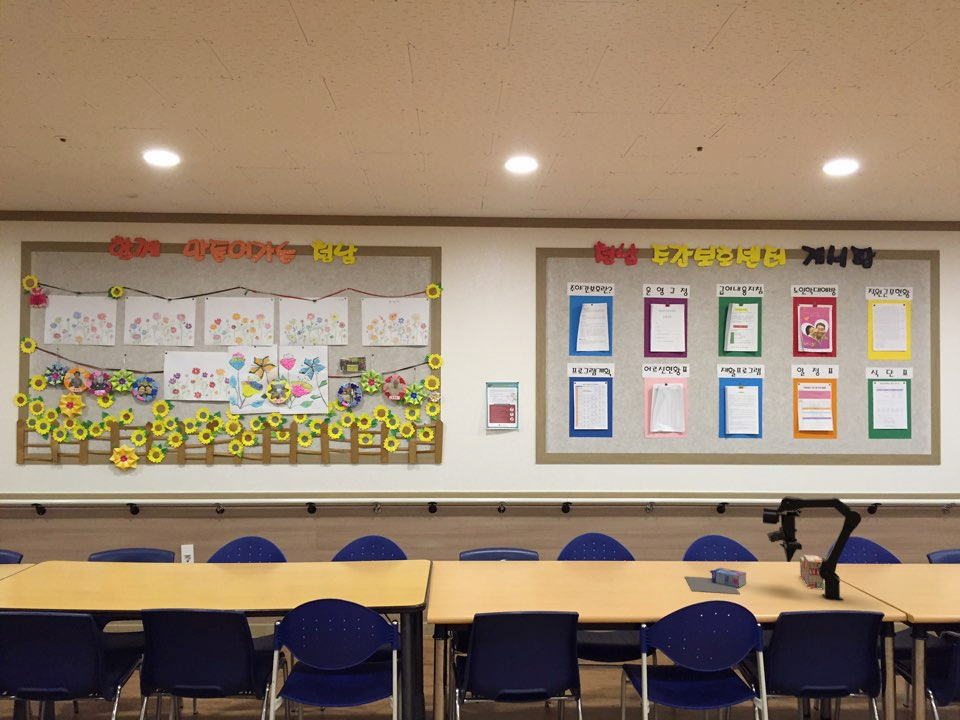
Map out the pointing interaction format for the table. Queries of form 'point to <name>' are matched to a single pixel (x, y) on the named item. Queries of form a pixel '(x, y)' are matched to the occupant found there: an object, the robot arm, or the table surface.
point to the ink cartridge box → (728, 577)
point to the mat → (709, 586)
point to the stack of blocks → (811, 571)
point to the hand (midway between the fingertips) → (788, 561)
